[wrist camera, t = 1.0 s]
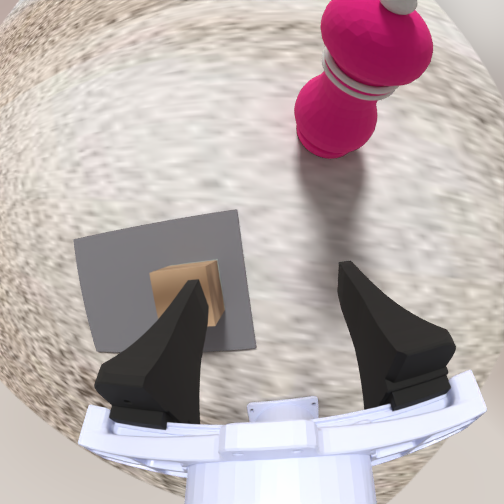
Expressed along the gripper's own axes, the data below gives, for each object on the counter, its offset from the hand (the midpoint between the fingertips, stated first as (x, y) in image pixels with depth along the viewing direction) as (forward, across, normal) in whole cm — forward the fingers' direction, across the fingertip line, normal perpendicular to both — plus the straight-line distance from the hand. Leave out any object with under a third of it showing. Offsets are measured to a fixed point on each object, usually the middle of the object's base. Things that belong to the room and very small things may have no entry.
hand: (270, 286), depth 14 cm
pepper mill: (+17, -7, -4) cm, 19 cm away
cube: (+10, +8, +8) cm, 15 cm away
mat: (+10, +13, +8) cm, 18 cm away
